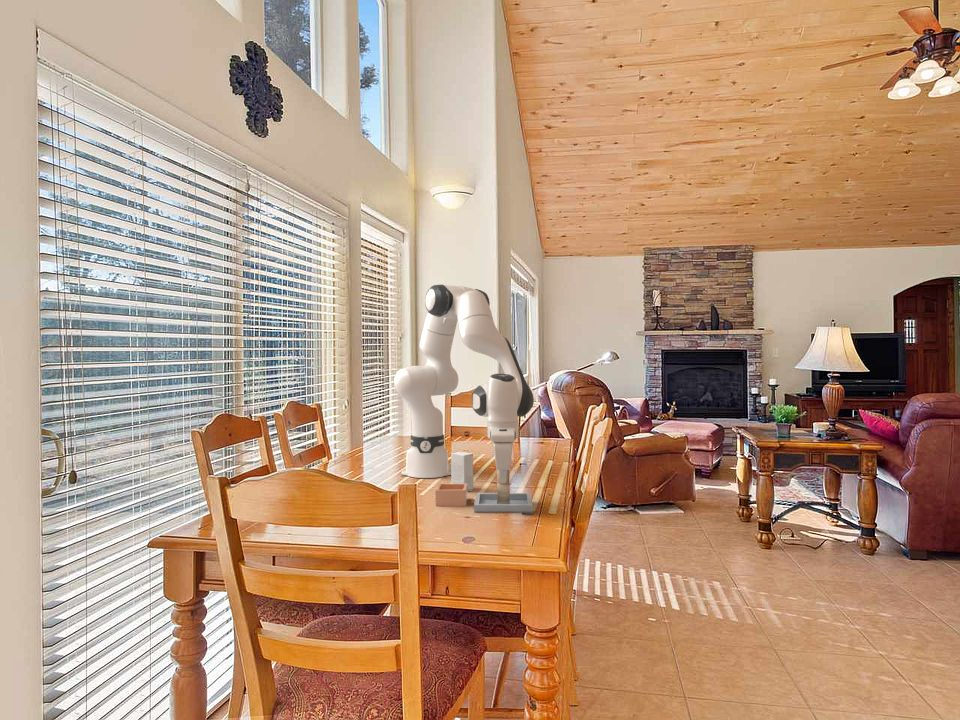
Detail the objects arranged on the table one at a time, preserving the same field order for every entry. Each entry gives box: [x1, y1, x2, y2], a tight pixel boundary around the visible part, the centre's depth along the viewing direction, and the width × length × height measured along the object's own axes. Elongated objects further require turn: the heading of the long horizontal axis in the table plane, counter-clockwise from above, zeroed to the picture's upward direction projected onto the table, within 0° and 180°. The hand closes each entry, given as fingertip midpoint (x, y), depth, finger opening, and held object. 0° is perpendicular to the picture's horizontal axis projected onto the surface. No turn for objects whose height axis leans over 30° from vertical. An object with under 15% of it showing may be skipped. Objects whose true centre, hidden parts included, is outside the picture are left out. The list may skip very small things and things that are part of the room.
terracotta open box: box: [435, 483, 469, 507], centre depth 184 cm, size 9×9×5 cm
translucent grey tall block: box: [496, 469, 511, 504], centre depth 179 cm, size 4×4×12 cm
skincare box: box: [450, 451, 474, 493], centre depth 199 cm, size 6×4×12 cm
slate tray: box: [473, 492, 534, 515], centre depth 179 cm, size 14×16×2 cm
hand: (503, 480), depth 179 cm, fingers open, 5 cm apart
